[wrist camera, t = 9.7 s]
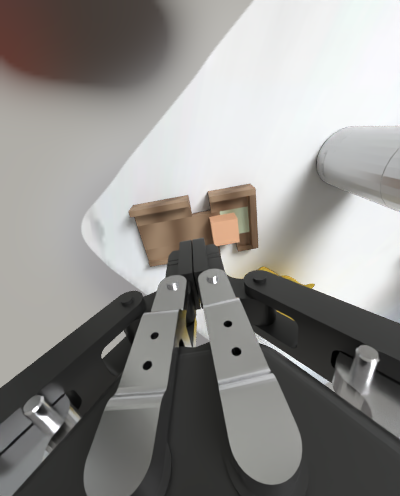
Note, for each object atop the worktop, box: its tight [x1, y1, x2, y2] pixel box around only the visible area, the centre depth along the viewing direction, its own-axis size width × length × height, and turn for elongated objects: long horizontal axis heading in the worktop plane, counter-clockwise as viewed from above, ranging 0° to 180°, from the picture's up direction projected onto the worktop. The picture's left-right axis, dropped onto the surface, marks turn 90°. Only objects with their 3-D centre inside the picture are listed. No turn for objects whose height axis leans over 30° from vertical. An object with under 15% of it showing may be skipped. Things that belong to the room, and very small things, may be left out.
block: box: [209, 213, 240, 246], centre depth 39 cm, size 4×4×3 cm
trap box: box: [129, 184, 258, 267], centre depth 40 cm, size 21×12×4 cm, turn 100°
